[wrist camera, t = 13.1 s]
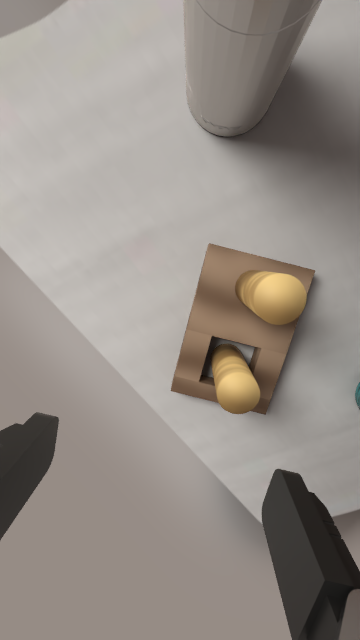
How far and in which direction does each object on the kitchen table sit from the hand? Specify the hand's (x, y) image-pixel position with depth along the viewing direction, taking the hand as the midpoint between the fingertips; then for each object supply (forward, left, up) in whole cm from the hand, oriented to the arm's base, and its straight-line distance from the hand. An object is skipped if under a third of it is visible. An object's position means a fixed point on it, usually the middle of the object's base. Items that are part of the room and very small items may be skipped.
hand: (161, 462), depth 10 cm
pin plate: (0, +7, -26) cm, 27 cm away
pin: (+4, +6, -26) cm, 27 cm away
